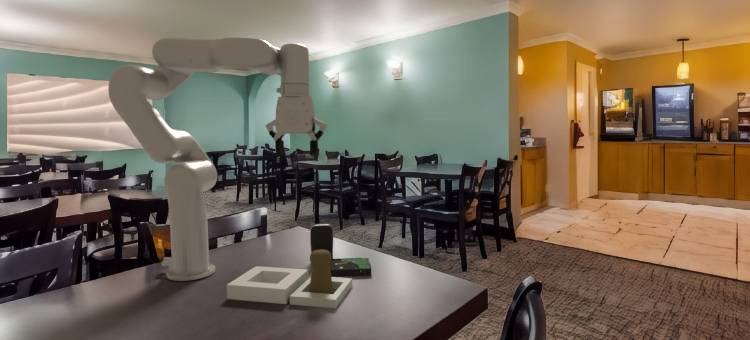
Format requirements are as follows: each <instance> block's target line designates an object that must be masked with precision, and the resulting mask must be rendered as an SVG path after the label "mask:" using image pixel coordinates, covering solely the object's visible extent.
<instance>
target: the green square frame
mask: <svg viewBox="0 0 750 340" xmlns="http://www.w3.org/2000/svg"><path fill="white" fill-rule="evenodd" d="M331 278H332V285H333V290H335V292H334V294H323V293H311V292H309V290H310V281H311V276H310V277H308V280H307V281H305V282H304V283H303V284H302V285H301V286H300V287H299V288H298V289H297V290H296V291H295V292H294V293H293V294H292V295H290V303H289V305H292V306H294V305H295V306H301V307H313V308H314V307H315V308H323V309H324V308H325V309H326V308H327V309H335V310H336V309H337V307H338V306H339V305H340V303H341V302H342V301H343V299H344V298H345V297H346V295H347V294H348V292H349V291H350V290H351V289H352V287H353V278H352V277H331Z"/></svg>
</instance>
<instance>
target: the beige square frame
mask: <svg viewBox="0 0 750 340" xmlns="http://www.w3.org/2000/svg"><path fill="white" fill-rule="evenodd" d="M308 279H309V269H305V268H304V269H302V268H301V269H300V268H289V267H288V268H287V267H286V268H285V267H276V266H275V267H272V266H257V265H256V266H254V267H252V268H250V269H249V270H248V271H246V272H245V273H243V274H241V275H239V276H238V277H236V278H235V279H233V280H232V281H231V282H229V283H227V284H226V295H227V296H226V298H227V300H235V301H247V302H258V303H268V304H280V305H281V304H282V305H287V304H288V303H289V304H290V295H292V294H293V293H294V292H295V291H296V290H297V289H298V288H299V287H300V286H301V285H302V284H303V283H304V282H305V281H307V280H308Z"/></svg>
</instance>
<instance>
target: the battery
mask: <svg viewBox="0 0 750 340" xmlns="http://www.w3.org/2000/svg"><path fill="white" fill-rule="evenodd" d="M309 236H310V237H309V241H310V254H311V253H312V252H313V251H315V250H328V251H329V252H330V253H331V259H334V229H333V227H332V225H331V224H330V223H315V224H312V225H311V227H310V232H309Z"/></svg>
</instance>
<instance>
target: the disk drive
mask: <svg viewBox="0 0 750 340" xmlns="http://www.w3.org/2000/svg"><path fill="white" fill-rule="evenodd" d="M329 265H330V272H331V277H340V278H352V277H355V278H356V277H371V276H372V266H371V262H370V260H369V258H368V257H349V258H347V257H346V258H333V259H331V262H330V264H329Z"/></svg>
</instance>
